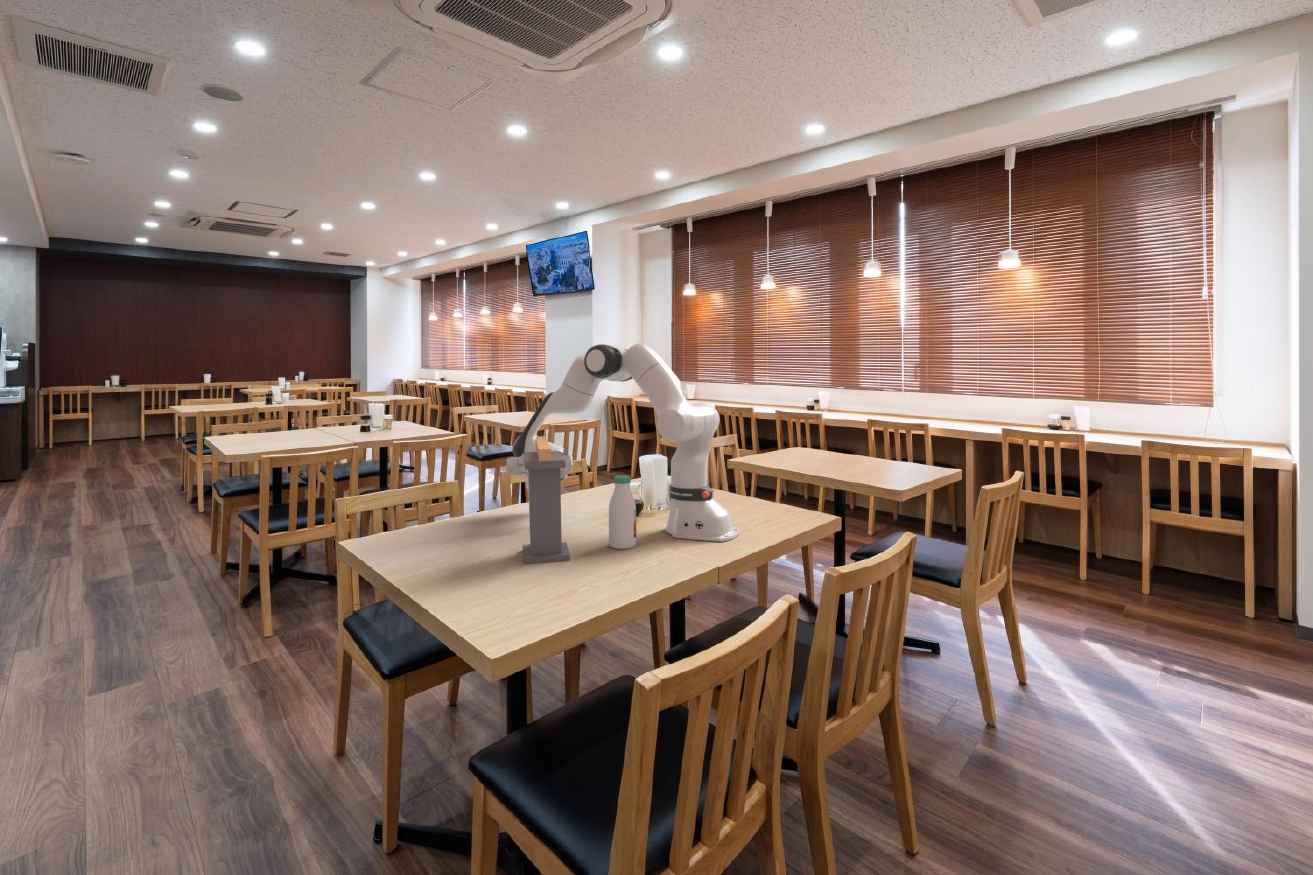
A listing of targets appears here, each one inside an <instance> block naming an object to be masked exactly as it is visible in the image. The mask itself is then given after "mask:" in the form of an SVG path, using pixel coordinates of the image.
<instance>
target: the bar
mask: <svg viewBox="0 0 1313 875" xmlns="http://www.w3.org/2000/svg"><path fill="white" fill-rule="evenodd" d="M537 436H538V435H537ZM548 442H549V441H548V438H547V436H546V435H544V436H538V437H535V446H536V451H537V455H538V458H539V461H551V448H550V445H549V443H548Z"/></svg>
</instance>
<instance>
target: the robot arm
mask: <svg viewBox="0 0 1313 875" xmlns="http://www.w3.org/2000/svg"><path fill="white" fill-rule="evenodd" d="M605 380H606V381H611V382H622V383H623V382H627V381H630V380H633V381H634V382H635V383H636V385H637V386H638V387H639V388H640V390H641V391H642V392H643V393H644V395H645V396H646V397H647V399H648V401H649V402H650V403H651V405H652V406H653V408H654V411H655V413H656V416H657V421H656V423H657V424H656V427H657V431H658V433H659V436H661V438H663V439H664V440H665V441H668V442H671V443H678V444H677V447H676V451H675V453H674V454H673V456H672V458H671V460H670V485H669V489H668V490H669V493H668V494H669V495H668V496H669V497H668V498H669V502H670V503H669V511H668V518H667V521H666V522H667V523H666V526H665V532H666V533H668V534H670V535H671V536H672V538H675V539H686V540H696V541H698V540H699V541H709V542H710V541H711V542H721V543H722V542H727V541H731V540H733V539H735V538H736V537H737V536H738V535H739V534H740V529H739V528H738V527H737V526H736V527H735V526H733V522H732V516H731V513H730V512H729V510H728V509H726V508H725V507H724V506H723V505H721V504H720V502H718V501H717V500H716V499H714V497H713V496H714V493H715V492H716V491H715V490H716V489H715V487H714V488H711V487H710V486H709V485H708V468H709V467H708V465H709V464H708V463H709V456H710V451H711V447H712V443H713V439H714V436H715V433H716V431H717V430H718V428H719V425H720V423H721V422H720V419H721V418H720V414H719V412H718V410H717V409H716V407H714V406H712V405H710V404H707V403H704V402H694V403H690V402H689V401H688V400H687V399H686V397H685V396H684V393H683V391H682V382H681V380H680V379H679V378H678V376H677V375H676V374H675V372H674V370H672V369H671V368H670V366H669V365H668V364H667V362H666V361H665V360H664V359H663V357H661V355H659V353H657V352H656V350H654V349H653V347H651V346H650V345H648V344H647V343H644V342H637V343H635V344H633V345H632V346H630V347H629V348H628V349H626V348H622V347H619V346H616V345H610V344H609V345H608V344H597V345H593V346H591V347H590V348H589V349H587V351H586V353H585V354H581V355H579V356H577V357H576V358H575V359H574V361H573V362H572V364H571V366H570V367H569V369H568V371H567V372H566V374H565V377H564V379H563V382H562V384H561V385H560V386H559V388H558V389H556V391H554V392H549V393H548V394H546V396H545V397H544V398H543V400H542V401H541V402H540V404H539V405H538V407H537V408H536V410H535V411H534V413H533V415H532V416H531V418H530V420H529V421H528V423H527V424H526V426H525V428H524V429H523V430H522V432H521V433H520V434H519V435H518V437H517V438H516V439H515V441H514V443H513V445H512V448H511V450H512V454H513V456H511V457H508V458H506V469H505V472H506V474H507V473H508V474H509V475H511V476H525V480H524V481H525V486H526V490H527V492H529V478H528V469H525V463H524V452H537V451H536V446H535V437H538V435H537V434H538V432H539V430H540V428H541V426H542V425H543V424H544V422H545V420H546V419H547V417H548V416H549V415H552V414H571V415H572V414H579V413H582V412H585V410H587V409H588V408H589V407H590V405H591V403H592V401H593V399H594V396H595V395H596V392H597V389H598V387H599V385H600V383H601V382H602V381H605ZM548 443H549V445H550V448H551V451H561V453H562V455H563V457H564V459H565V468H560V479H561V481H566V480H567V479H568V476H569V475H570V474H571V472H572V471H573V468H574V463H573V461H574V459H573V455H571V454H568V452H567V450H566V449H565V448H564V447H562V446H560V445H558V444H555V443H553V442H550V441H548Z"/></svg>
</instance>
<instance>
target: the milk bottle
mask: <svg viewBox="0 0 1313 875" xmlns="http://www.w3.org/2000/svg"><path fill="white" fill-rule="evenodd" d="M631 479H632V478H631V476H630V475H626V474H622V475H621V474H619V475H615V476H614V478H613V484H614V488H613V489H614V490H613V493H612V495H611V498H610V500H609V504H608V545H609V547H610V548H612V549H615V550H629V549H632V548H635V547H636V546H637V505H636V501H635V498H634V495H633V494H632V490H631V487H630V486H631V481H632V480H631Z"/></svg>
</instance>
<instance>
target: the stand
mask: <svg viewBox="0 0 1313 875" xmlns="http://www.w3.org/2000/svg"><path fill="white" fill-rule="evenodd" d="M524 463H525V469H528V478H529V491H528V511H529V512H528V516H529V518H528V519H529V544H522V559H523V560H522V562H523V563H527V564H538V562H542V563H553V562H555V563H556V562H567V561H568V562H570V561H571V553H570V551H569V550H570V549H569V547H568V546H569V545H568V543H567V542H566V541H565V542H564V541H562V495H561V494H562V493H561V492H562V491H561V489H562V487H561V483H562V480H561V479H560V468H565V459H564V457H563V455H562V453H561V451H551V461H539V458H538V455H537V452H524Z"/></svg>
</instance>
